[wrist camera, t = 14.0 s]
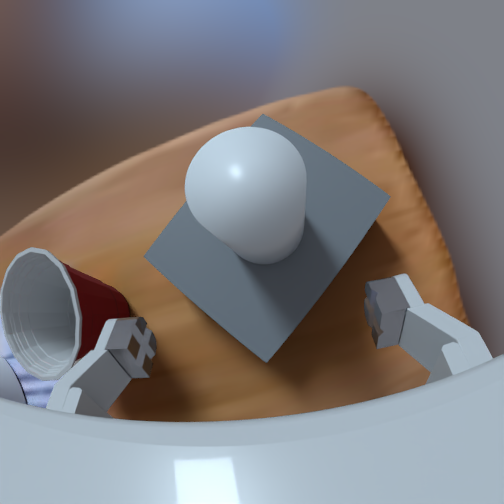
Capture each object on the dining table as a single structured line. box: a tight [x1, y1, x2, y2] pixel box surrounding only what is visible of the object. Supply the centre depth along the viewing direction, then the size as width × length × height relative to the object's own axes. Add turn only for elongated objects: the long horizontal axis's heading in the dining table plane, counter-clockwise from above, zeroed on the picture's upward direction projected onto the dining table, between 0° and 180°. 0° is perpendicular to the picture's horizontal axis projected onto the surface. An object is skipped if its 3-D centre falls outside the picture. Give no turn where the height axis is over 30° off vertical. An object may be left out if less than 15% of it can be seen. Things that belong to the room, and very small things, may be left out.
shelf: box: [144, 114, 391, 363], centre depth 26 cm, size 16×13×6 cm
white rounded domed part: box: [185, 127, 307, 264], centre depth 19 cm, size 6×6×9 cm
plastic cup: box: [0, 247, 130, 381], centre depth 24 cm, size 11×11×12 cm
